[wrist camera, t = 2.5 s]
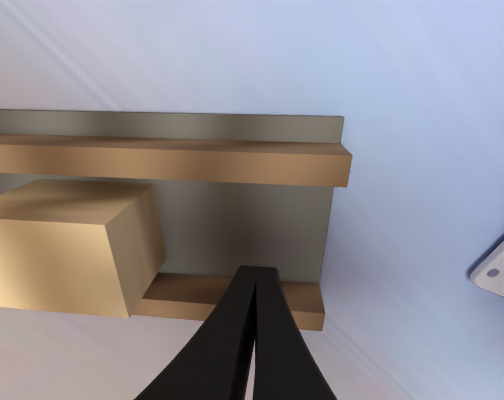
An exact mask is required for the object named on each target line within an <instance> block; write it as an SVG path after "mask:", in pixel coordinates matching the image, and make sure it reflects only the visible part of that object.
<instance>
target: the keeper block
mask: <svg viewBox="0 0 504 400" xmlns="http://www.w3.org/2000/svg"><path fill="white" fill-rule="evenodd" d="M165 260H166V254H165V248H164V242H163V235H162V229H161V223H160V216H159V210H158V204H157V197H156V191H155V185H154V184H153V183H130V182H107V181H84V180H61V179H37V180H35V181H32V182H30V183H27V184H25V185H23V186H20V187H18V188H15V189H13V190H11V191H8V192H6V193H3V194H1V195H0V307H7V308H18V309H30V310H41V311H52V312H64V313H75V314H86V315H98V316H109V317H120V318H129V317H130V316H131V314H132V313H133V311H134V309H135V308H136V306H137V305H138V303H139V302H140V300H141V298H142V297H143V295H144V294H145V292H146V290H147V289H148V287H149V286H150V284H151V282H152V281H153V279H154V278H155V276H156V275H157V273H158V271H159V270H160V268H161V267H162V265H163V263H164V262H165Z"/></svg>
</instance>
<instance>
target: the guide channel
mask: <svg viewBox="0 0 504 400" xmlns="http://www.w3.org/2000/svg"><path fill="white" fill-rule="evenodd" d="M343 123H344V117H343V116H305V115H256V114H206V113H157V112H108V111H58V110H9V109H0V195H1V194H3V193H6V192H8V191H11V190H13V189H15V188H18V187H20V186H23V185H25V184H27V183H30V182H32V181H35V180H37V179H61V180H84V181H107V182H130V183H153V184H154V185H155V191H156V197H157V204H158V210H159V216H160V223H161V229H162V235H163V242H164V248H165V254H166V260H165V262H164V263H163V265H162V267H161V268H160V270H159V271H158V273H157V275H156V276H155V278H154V279H153V281H152V282H151V284H150V286H149V287H148V289H147V290H146V292H145V294H144V295H143V297H142V298H141V300H140V302H139V303H138V305H137V306H136V308H135V309H134V311H133V313H132V314H131V315H141V316H153V317H164V318H176V319H187V320H199V321H205V320H206V319H207V317H208V316H209V315H210V313H211V312H212V311H213V309H214V308H215V306H216V305H217V303H218V302H219V300H220V299H221V297H222V296H223V294H224V293H225V291H226V289H227V288H228V286H229V284H230V283H231V281H232V279H233V277H234V275H235V273H236V271H237V269H238V267H240V266H241V265H246V266H261V267H276V269H277V270H278V272H279V278H280V282H281V286H282V289H283V292H284V295H285V298H286V301H287V303H288V306H289V308H290V311H291V313H292V315H293V318H294V320H295V323H296V325H297V327H298V329H302V330H314V331H322V329H323V323H324V317H325V311H324V306H323V300H322V295H321V290H320V285H319V283H320V276H321V269H322V263H323V256H324V249H325V243H326V236H327V229H328V223H329V216H330V210H331V203H332V196H333V190H334V187H347V184H348V178H349V173H350V167H351V161H352V155H351V154H350V153H349V152H348V151H347V150H346V149H345V148H344V147H343V145H342V144H341V136H342V130H343Z"/></svg>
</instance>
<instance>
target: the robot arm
mask: <svg viewBox="0 0 504 400" xmlns="http://www.w3.org/2000/svg"><path fill="white" fill-rule="evenodd" d="M491 269H492V270H491ZM490 270H491V271H490ZM488 271H489V272H488ZM470 279H471V281H472V282H473V283H474V284H475V285H476V286H478V287H480V288H483V289H485V290H488V291H490V292H493V293H495V294H498V295H500V296H503V297H504V241H503V242H502V243H501V244H500V245H499V246H498V247H497V248H496V249H495V250H494V251H493V252H492V253H491V254H490V255H489V256H488V257H487V258H486V259H485V260H484V261H483V262H482V263H481V264H480V265H479V266H478V267H477V268H476V269H475V270H474V271H473V272H472V273H471V275H470ZM254 341H255V378H254V390H253V400H337V398H336V397H335V395H334V393H333V392H332V390H331V388H330V387H329V385H328V383H327V382H326V380H325V379H324V377H323V375H322V373H321V371H320V370H319V368H318V366H317V364H316V363H315V361H314V359H313V357H312V355H311V353H310V351H309V350H308V348H307V346H306V344H305V342H304V340H303V338H302V335H301V333H300V331H299V329H298V327H297V325H296V323H295V320H294V318H293V315H292V313H291V311H290V308H289V306H288V303H287V301H286V298H285V295H284V292H283V289H282V286H281V282H280V278H279V272H278V270H277V269H276V267H261V266H246V265H241V266H240V267H238V269H237V271H236V273H235V275H234V277H233V279H232V281H231V283H230V284H229V286H228V288H227V289H226V291H225V293H224V294H223V296H222V297H221V299H220V300H219V302H218V303H217V305H216V306H215V308H214V309H213V311H212V312H211V313H210V315H209V316H208V317H207V319H206V320H205V321H204V323H203V324H202V325H201V327H200V328H199V329H198V331H197V332H196V333H195V334H194V336H193V337H192V338H191V339H190V340H189V342H188V343H187V344H186V345H185V346H184V348H183V349H182V350H181V351H180V352H179V353H178V354H177V356H176V357H175V358H174V359H173V360H172V361H171V362H170V363H169V364H168V365H167V367H166V368H165V369H164V370H163V371H162V372H161V373H160V374H159V375H158V376H157V377H156V378H155V379H154V380H153V381H152V382H151V383H150V384H149V385H148V386H147V387H146V388H145V389H144V390H143V391H142V392H141V393H140V394H139V395H138V396H137V397H136V398H135V399H134V400H244V399H245V393H246V388H247V382H248V376H249V370H250V364H251V358H252V352H253V347H254Z"/></svg>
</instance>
